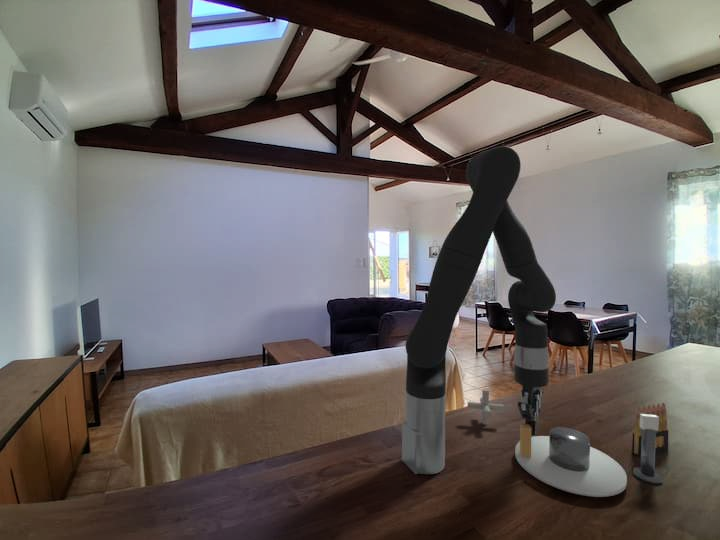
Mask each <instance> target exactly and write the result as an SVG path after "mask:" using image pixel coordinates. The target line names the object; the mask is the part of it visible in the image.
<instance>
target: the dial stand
mask: <svg viewBox="0 0 720 540" xmlns="http://www.w3.org/2000/svg"><path fill="white" fill-rule="evenodd" d="M658 425H659V417H657V416H656V415H649V414H640V428H642V441H641V456H640V466H635V467H633V469H632V473H633V476H634V477H635V478H637V479H638V480H640V481H643V482H645V483H648V484H650V485H651V484H652V485H662V483H663V477H662V475H661V474H660V473H659V472H656V471H655V469H656V467H655V466H656V463H655V462H656V453H655V443H656V431H658Z"/></svg>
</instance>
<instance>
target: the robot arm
mask: <svg viewBox="0 0 720 540" xmlns="http://www.w3.org/2000/svg"><path fill="white" fill-rule="evenodd" d="M520 172H521V158H520V156H519V154H518V152H517V151H516V150H515V149H514V148H512V147H510V146H506V145H501V146H495V147H492V148H489V149H486V150H483V151H481V152H479V153H477V154H475V155H474V156H473V157H472V158H470V160H469V161H468V162H467V165H466V168H465V176H466V181H467V183H468V185H469V187H470V189H471V191H472V194H471V197H470V200H469V202H468V203H467V207H466V208H465V210H464V211H463V213H462V214H461V216H460V217H459V219H458V220H457V221H456V223H455V224H454V225H453V226H452V228H451V230H449V232H448V233H447V235H446V237H445V239H444V241H443V243H442V245H441V247H440V251H439V252H438V256H437V258H436V262H435V263H434V264H435V265H434V268H433V271H432V275H431V278H430V281H429V282H430V283H429V287H428V291H427V294H426V295H427V296H426V299H425V302H424V304H423V308H422V310H421V312H420V315H419V317H418V318H417V321H416V322H415V325H414V326H413V327H412V328H411V329H410V330H409V332H408V334H407V337H406V340H405V353H406V354H407V355H406V358H407V359H406V361H407V362H406V378H405V420H404V421H402V423H401V425H402V427H401V428H402V429H401V461H402V462H403V463H404V464H405V465H406V466H407V467H408V468H409V469H410V471H412V473H413V474H414V475H418V474H422V475H434V474H438V473H440V472H442V471H443V470H444V468H445V464H446V463H445V462H446V390H447V389H446V387H447V385H446V384H447V379H446V378H447V376H446V375H447V374H446V373H447V371H446V361H447V360H446V359H447V357H446V355H447V350H448V345H449V341H450V338H451V334H452V330H453V327H454V324H455V321H456V318H457V315H458V312H459V311H460V308H461V307H462V305H463V303H464V301H465V300H466V298H467V295H468V293H469V290H470V289H471V286H472V285H473V282H474V280H475V279H476V276H477V273H478V271H479V268H480V266H481V263H482V261H483V257H484V254H485V251H486V249H487V247H488V244H489V242H490V239H491V237H492V234H493V235H494V239H495V242H496V244H497V247H498V249H499V253H500V256H501V259H502V262H503V264H504V267H505V270H506V273H507V274H508V275H509V276H510V277H512V278H515V279H516V280H517V279H518V281H515V282H514V283H513V284H511V286H510V287H509V290H508V293H507V301H508V307H509V311H510V313H511V318H512V320H513V325H514V327H515V328H514V329H515V331H514V332H515V333H514V334H515V338H514V339H515V340H514V341H515V343H514V352H513V357H514V358H513V359H514V361H513V362H514V363H513V366H514V367H513V375H514V378H513V379H514V381H515V382H516V383H517V384H520V386H522V388H521V390H520V391H519V395H520V399H521V401H517V406H518V407H517V408H518V411H519V413H520V416H521V418H522V419H525V420H524V421H525V423H524V424H528V425H530V427H531V429H532V433H531V436H536V435H537V432H538V431H537V427H538V426H537V424H538V423H537V421H538V420H537V419H538V417H539V414H540V412H541V408H542V407H541V406H542V402H543V401H542V400H543V395H544V389H541V388H544V387H547V386H548V385H549V381H550V378H549V375H550V373H549V372H550V370H549V367H550V366H549V364H550V361H549V359H550V358H549V349H548V344H549V343H548V338H549V337H548V326H547V324H546V323H545V322H543V321H541V320H539V319H538V318H537V317H536V316H535V314H534V312H535V313H547V312H550V311H551V309H553V308H554V306H555V304H556V301H557V295H556V290H555V287H554V285H553V283H552V282H551V280H550V278H549V277H548V275H547V274H546V273H545V271H544V269H543V268H542V266H541V265H540V264H539V262H538V259H537V256H536V253H535V250H534V246H533V243H532V241H531V239H530V238H531V237H530V235H529V234H528V232H527V230H526V228H525V226H523V224H522V223H521V221H520V220H519V218H518V217H517V216H516V214H515V212H514V210H513V209H512V207H511V205H510V204H509V201H508V199H509V197H510V195H511V193H512V191H513V189H514V187H515V185H516V184H517V180H518V178H520Z"/></svg>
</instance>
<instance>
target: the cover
mask: <svg viewBox="0 0 720 540" xmlns="http://www.w3.org/2000/svg"><path fill="white" fill-rule="evenodd" d="M548 436H549V458H550V460H551V461H552V462H553V463H554V464H556V465H558V466H559V467H562V468H564V469H567V470H571V471H577V472H582V471H587V470H588V469H589V467H590V447H591V439H590V437H589V436H588V435H586V434H585V433H584V432H582V431H579V430H577V429H573V428H569V427H565V426H563V427H562V426H556V427H552V428H550V429H549V435H548Z"/></svg>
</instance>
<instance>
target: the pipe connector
mask: <svg viewBox="0 0 720 540" xmlns="http://www.w3.org/2000/svg"><path fill="white" fill-rule="evenodd" d="M467 409H475V410H481V424H482V425H484V426H487V425H489V418H491V417H492V412H491V411H498V412H504V411H505V406H504V404H499V403H498V404H497V403H490V390H489V389H487V388H483V389H482V397H480V398H479V402H476V401H467Z"/></svg>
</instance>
